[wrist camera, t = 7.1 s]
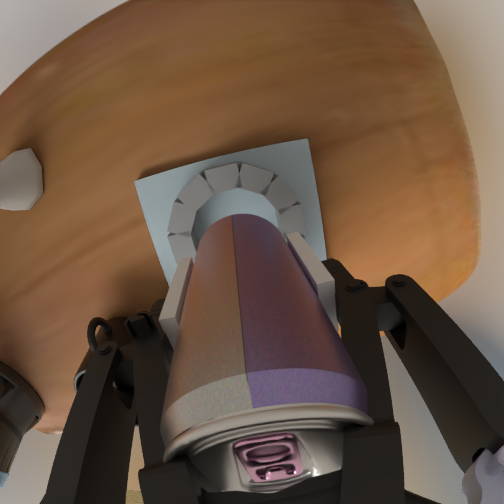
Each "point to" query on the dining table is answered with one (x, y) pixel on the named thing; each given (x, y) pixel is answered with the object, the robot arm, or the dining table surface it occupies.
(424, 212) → the dining table surface
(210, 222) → the seat board
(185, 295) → the robot arm
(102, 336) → the mug
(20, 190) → the flask
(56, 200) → the dining table surface
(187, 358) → the beverage can
